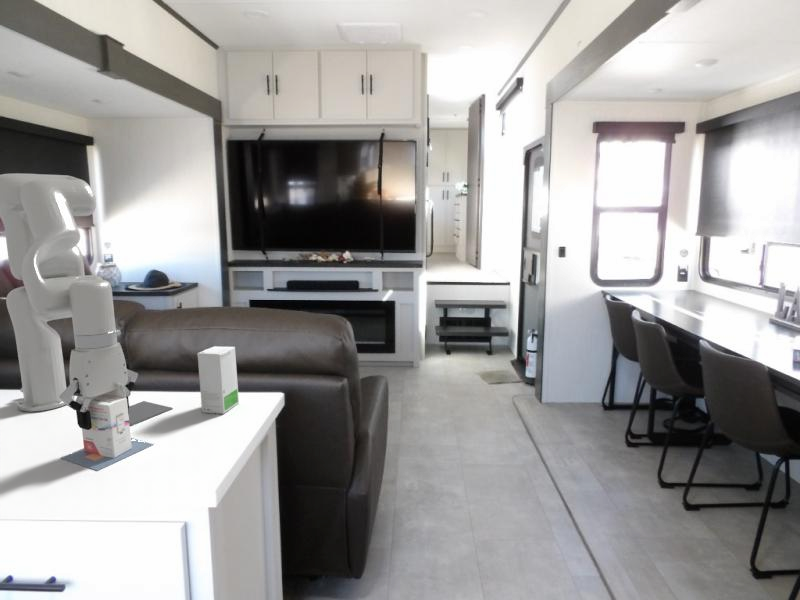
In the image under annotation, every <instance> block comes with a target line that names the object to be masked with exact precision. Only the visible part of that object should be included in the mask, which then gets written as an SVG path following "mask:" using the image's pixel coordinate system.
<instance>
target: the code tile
mask: <svg viewBox="0 0 800 600" xmlns="http://www.w3.org/2000/svg"><path fill="white" fill-rule="evenodd" d="M132 439H135V440H136V441H131V445H132V448H131V449H130V450H128V451H126V452H124V453H123V454H121V455H119V456H117V457H115V458H111V457H106V456H102V455H97V454H92V453H88V452H85V451H84V447H83V448H81V449H79V450H76V451H73V452H71V453H72V454H71V453H69V454H66V455H63V456H62V457H60V459H61V460H64V461H67V462H70V463H73V464H76V465H78V466H82V467H85V468H88V469H90V470H93V471H97V472H98V471H101V470H102V469H104V468H106V467H109V466H111V465H113V464H115V463H117V462H119V461H121V460H123V459H124V460H125V459H126V458H128V457H131V456H132V455H135V454H137V453H140V452H141V451H143V450H145V448H146V449H148V448H149V446H150V447H152V446H154V445H153V444H154V443H150V442H146V441H144V442H145V443H144V442H138V440H139V439H136V438H134V437H131V440H132ZM151 445H152V446H151ZM147 447H148V448H147Z"/></svg>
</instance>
